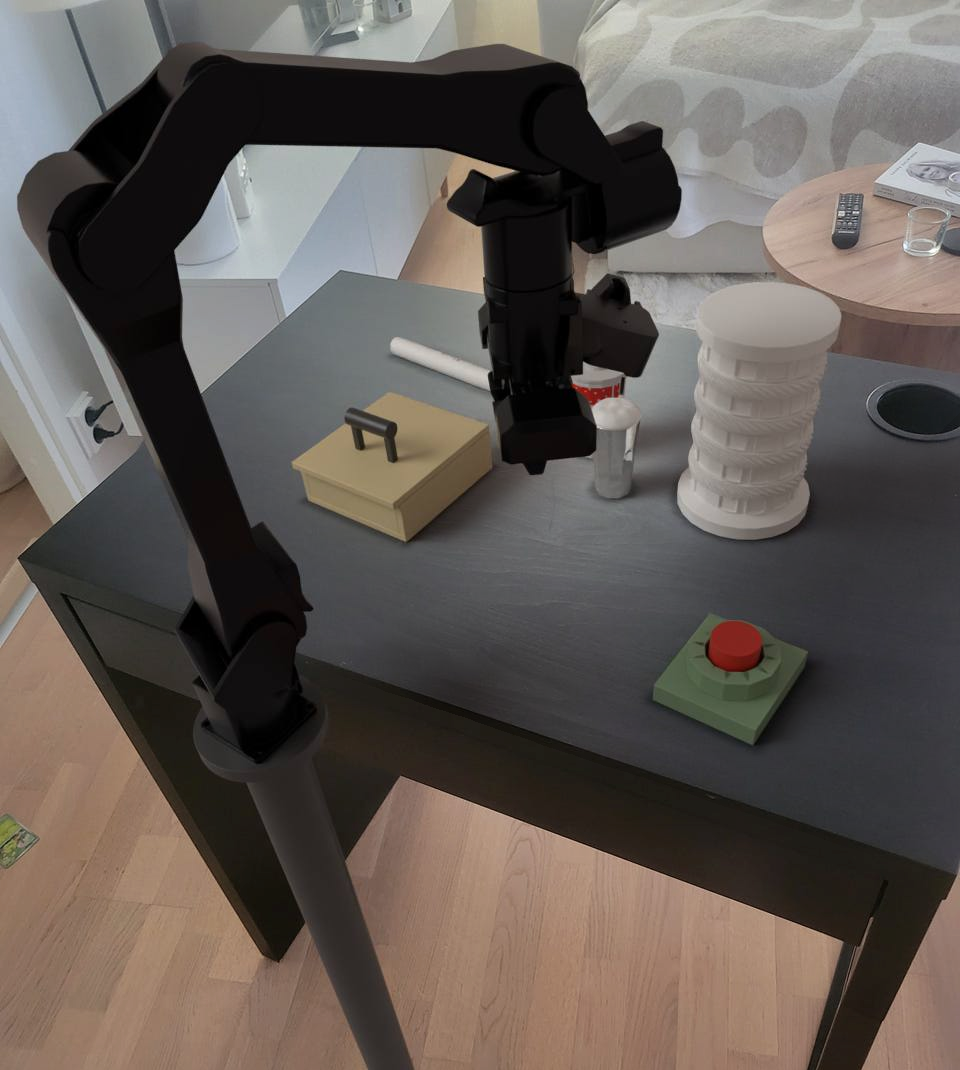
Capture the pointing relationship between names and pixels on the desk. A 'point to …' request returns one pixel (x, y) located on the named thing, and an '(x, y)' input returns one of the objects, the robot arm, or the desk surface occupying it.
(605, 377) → the beverage cup
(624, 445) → the milkshake
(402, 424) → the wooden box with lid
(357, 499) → the tan wooden shallow box
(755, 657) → the release button
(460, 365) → the marker
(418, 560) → the desk surface
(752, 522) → the decorative container
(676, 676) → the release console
